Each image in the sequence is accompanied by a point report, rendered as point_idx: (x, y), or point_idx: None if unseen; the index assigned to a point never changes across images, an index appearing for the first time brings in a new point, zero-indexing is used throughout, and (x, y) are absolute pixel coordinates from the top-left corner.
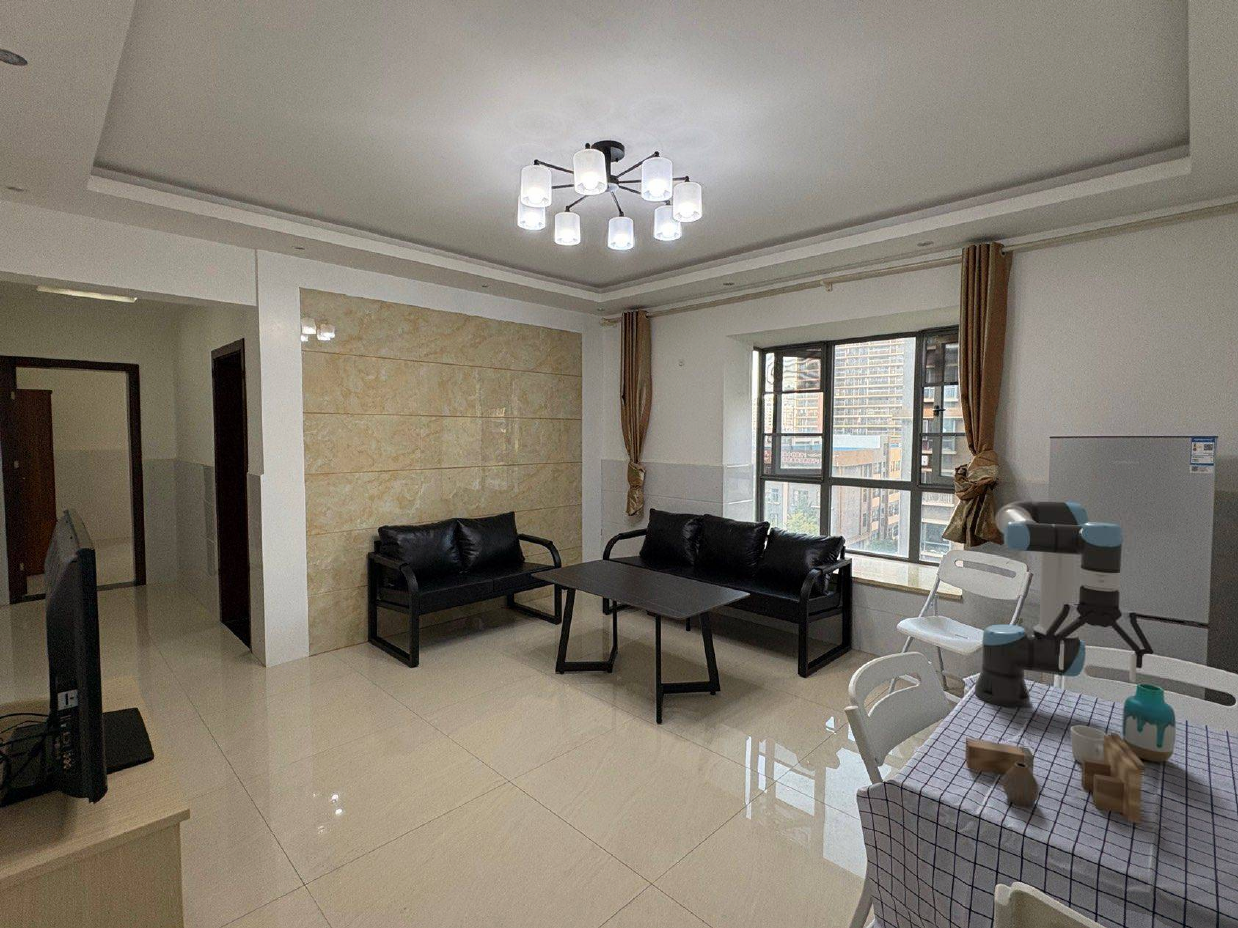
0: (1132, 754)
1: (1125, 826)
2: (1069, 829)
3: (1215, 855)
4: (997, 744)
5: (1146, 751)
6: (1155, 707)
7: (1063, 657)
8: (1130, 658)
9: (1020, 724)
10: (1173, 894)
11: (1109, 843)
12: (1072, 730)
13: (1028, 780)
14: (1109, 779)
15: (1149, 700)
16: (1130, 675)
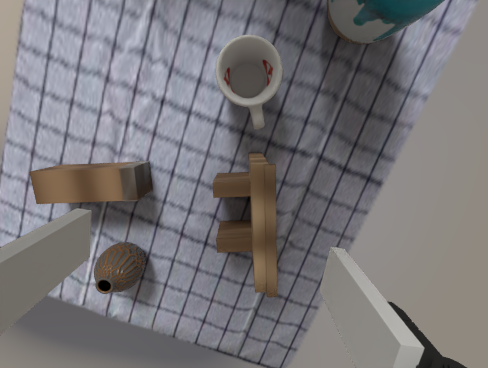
0: (271, 257)
1: (244, 261)
2: (179, 294)
3: (321, 281)
4: (82, 176)
5: (350, 41)
6: None
7: (48, 292)
8: (371, 315)
9: None
10: (250, 362)
11: (216, 304)
12: (216, 77)
13: (121, 290)
14: (234, 247)
15: None
16: (331, 280)
